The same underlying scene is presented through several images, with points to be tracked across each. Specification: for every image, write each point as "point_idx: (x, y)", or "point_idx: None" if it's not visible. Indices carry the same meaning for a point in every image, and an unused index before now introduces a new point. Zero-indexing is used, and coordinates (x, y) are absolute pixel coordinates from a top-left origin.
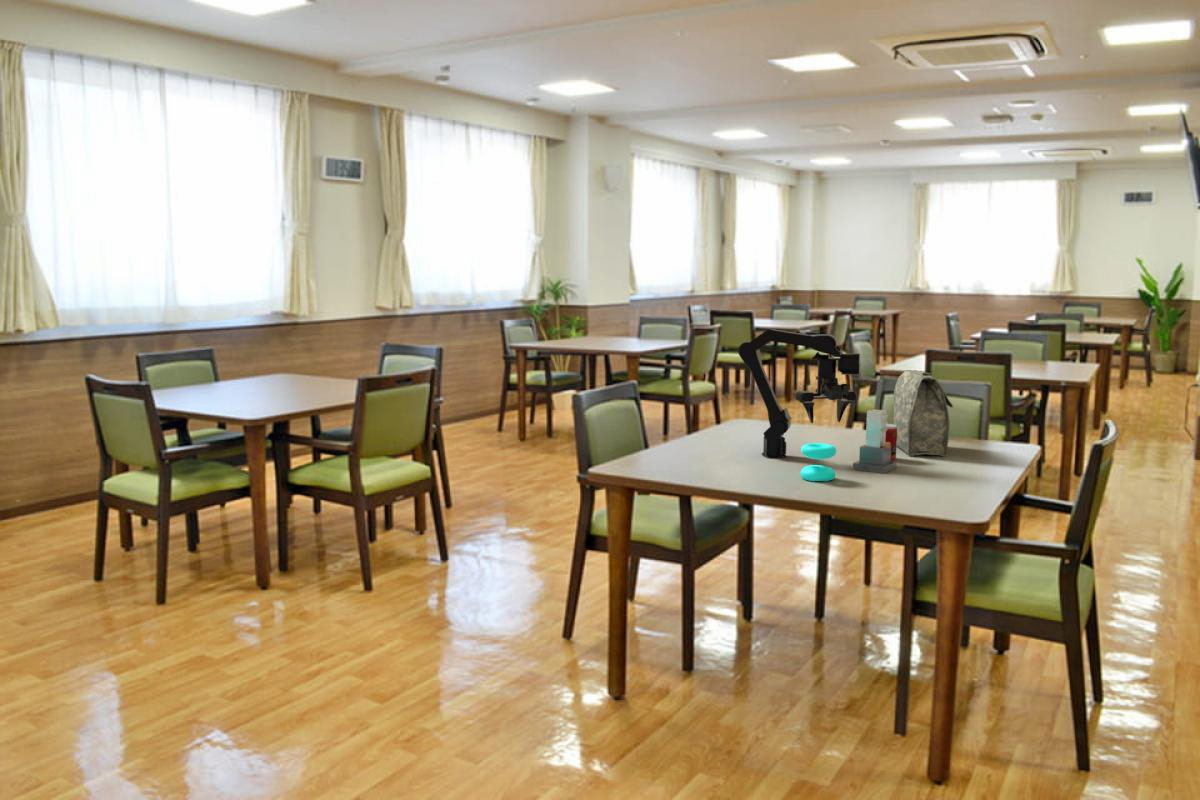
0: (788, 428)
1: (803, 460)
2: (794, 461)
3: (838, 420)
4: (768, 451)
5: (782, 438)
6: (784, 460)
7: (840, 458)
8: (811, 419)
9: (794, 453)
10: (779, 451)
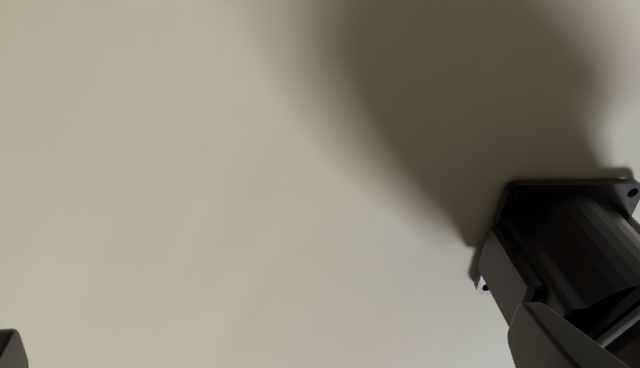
0: (629, 358)
1: (453, 60)
2: (546, 38)
3: (12, 360)
4: (637, 230)
5: (596, 300)
6: (588, 92)
7: (88, 73)
8: (590, 340)
9: (368, 289)
10: (576, 213)
